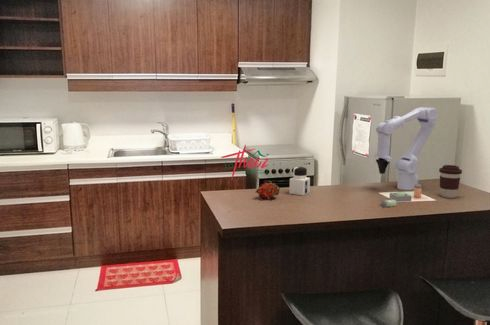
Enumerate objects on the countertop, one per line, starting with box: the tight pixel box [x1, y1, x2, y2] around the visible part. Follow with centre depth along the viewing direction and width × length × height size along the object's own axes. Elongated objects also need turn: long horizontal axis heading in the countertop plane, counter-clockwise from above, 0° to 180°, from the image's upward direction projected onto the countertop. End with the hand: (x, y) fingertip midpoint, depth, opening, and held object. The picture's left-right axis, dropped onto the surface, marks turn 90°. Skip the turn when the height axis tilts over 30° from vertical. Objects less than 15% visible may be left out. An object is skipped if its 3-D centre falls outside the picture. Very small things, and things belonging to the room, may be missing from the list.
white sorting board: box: [379, 190, 437, 203], centre depth 205 cm, size 20×18×3 cm
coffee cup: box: [438, 164, 463, 199], centre depth 208 cm, size 10×10×15 cm
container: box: [288, 166, 311, 196], centre depth 213 cm, size 8×8×13 cm
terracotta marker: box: [413, 183, 423, 198], centre depth 202 cm, size 3×3×6 cm
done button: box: [395, 191, 405, 196], centre depth 199 cm, size 4×4×3 cm
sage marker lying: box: [379, 199, 398, 209], centre depth 189 cm, size 6×3×3 cm, turn 99°
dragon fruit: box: [255, 181, 281, 200], centre depth 203 cm, size 8×8×12 cm
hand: (382, 173), depth 216 cm, fingers closed
